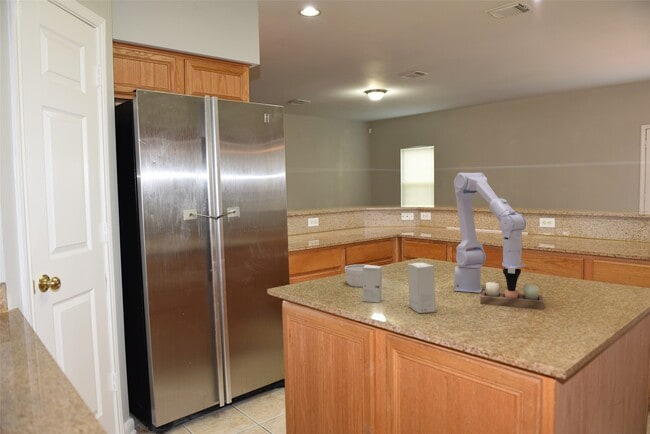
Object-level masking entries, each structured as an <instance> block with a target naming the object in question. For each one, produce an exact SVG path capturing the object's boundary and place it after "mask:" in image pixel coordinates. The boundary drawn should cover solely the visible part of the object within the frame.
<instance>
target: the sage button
mask: <svg viewBox="0 0 650 434" xmlns="http://www.w3.org/2000/svg"><path fill="white" fill-rule="evenodd" d="M523 286H524V287H523V294H524V298H525V299H532V300H537V299H538V295H539V286H538V285H535V284H525V285H523Z"/></svg>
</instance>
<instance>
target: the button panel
mask: <svg viewBox="0 0 650 434" xmlns="http://www.w3.org/2000/svg"><path fill="white" fill-rule="evenodd" d="M479 300H480V302H479V303H480V305H488V306H489V305H490V306H500V307H501V306H502V307H511V308H512V307H514V308H521V309H523V308H524V309H525V308H526V309H535V310H544V299H543V295H542V294H538V299H537V300H532V299H525V298H524V293H519V292H518V298H507V297H505V291H499V296H497V297H495V296H487V295H486V290H482V291H481V293H480V298H479Z"/></svg>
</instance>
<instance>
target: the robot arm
mask: <svg viewBox="0 0 650 434" xmlns="http://www.w3.org/2000/svg"><path fill="white" fill-rule="evenodd" d="M453 184H454V185H453V186H454V191H455V198H456V200H455V201H456V207H457V213H458V214H457V216H458V223H459V230H460V237H461V238H460V239H461V242H460V243H459V244H458V245H457V246H456V248H455V249H456V255H455V260H456V263H457V265H456V266H454V283H453V284H454V285H453V286H454V289H453V291H454V292H465V293H478V294H482V291H483V287H482V285H481V283H482V281H481V280H482V277H481V276H482V275H481V274H482V271H481V270H482V267H483V265H484V264H485V263H486V261H487V255H486V252H485V250H484V245H483V244H482V243H481V242H480V241H478V239H477V232H476V226H475V224H476V223H475V218H474V217H475V215H474V210H473V203H472V201H473V200H472V199H473V197H474V196H476V195H477V194H480V196H481V197H482V198H483V199H484V200H485V201H486V202H487V203H488V204H489V210H490V212H491V213H492V214H493V215H494V216H495V218H496V219H497V220H498V221H499V222H498V224H499V225H498V226H499V228H500V230H501V236H502V238H503V239H502V240H503V243H502V263H501V265H502V267H504V268H502V273H503V275H504V278H505V282H506V287H507V288H506V289H508V291H515V290H517V289H516V287H517V284H518V280H519V277H520V275H521V273H522V269H521V267H523V268H524V267H526V263H522V252H523V251H522V249H523V248H522V246H523V245H522V244H523V243H522V242H523V231H524V230H525V229H526V226H527V221H526V218H525V215H524V214H522V213H518V212H516V211H515V209H513V208H512V207H511V206H510V204H508V200H506V199H505V198H501V197H500V198H499V196H497V194H496V193H495V192H494V190H493V189H492V188H491V186H490V184H489V183H488V177H486V176H485V174H484V173H483V172H480V171H479V172H459V173H457V175H456V176H455V178H454V180H453Z"/></svg>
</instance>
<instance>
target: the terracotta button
mask: <svg viewBox="0 0 650 434" xmlns="http://www.w3.org/2000/svg"><path fill="white" fill-rule="evenodd" d="M504 292H505V297H507V298H518V293H519V290H518V289H515V291H508V288H506V289H504Z"/></svg>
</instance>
